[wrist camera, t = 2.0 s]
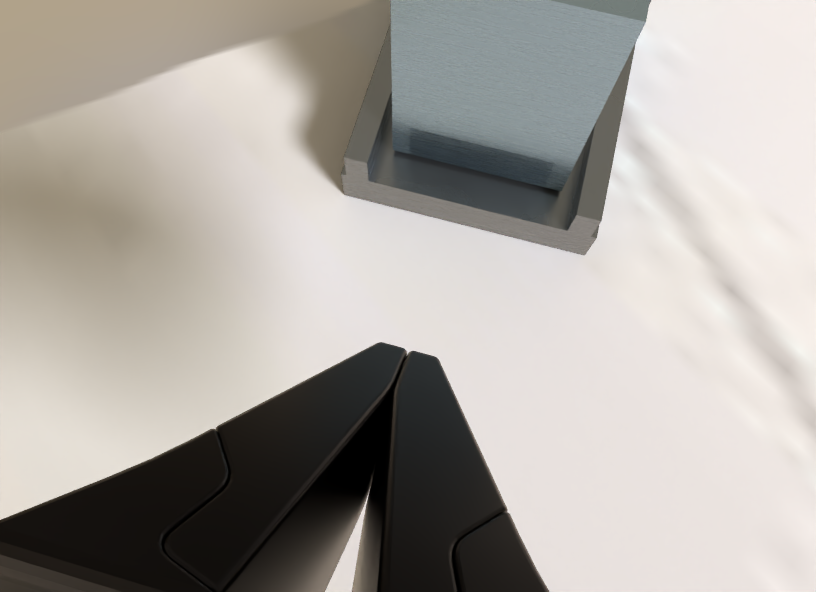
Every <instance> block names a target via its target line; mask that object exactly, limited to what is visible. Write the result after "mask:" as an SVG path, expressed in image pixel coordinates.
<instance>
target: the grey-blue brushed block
mask: <svg viewBox="0 0 816 592" xmlns="http://www.w3.org/2000/svg"><path fill="white" fill-rule="evenodd" d="M649 2H650V0H391V68H392V138H393V150H395V151H399V152H403V153H407V154H411V155H415V156H419V157H423V158H428V159H432V160H436V161H440V162H444V163H448V164H452V165H456V166H460V167H464V168H468V169H472V170H476V171H480V172H484V173H489V174H493V175H497V176H501V177H505V178H509V179H513V180H517V181H521V182H525V183H529V184H533V185H537V186H541V187H545V188H550V189H554V190H558V191H562V190H563V187H564V185H565V183H566V181H567V179H568V177H569V175H570V173H571V171H572V169H573V167H574V165H575V163H576V161H577V159H578V157H579V155H580V153H581V151H582V149H583V147H584V145H585V143H586V141H587V139H588V137H589V135H590V133H591V131H592V129H593V127H594V125H595V123H596V121H597V119H598V117H599V115H600V113H601V111H602V109H603V107H604V105H605V103H606V101H607V99H608V97H609V95H610V93H611V91H612V89H613V87H614V85H615V83H616V81H617V79H618V77H619V75H620V73H621V71H622V69H623V67H624V65H625V63H626V61H627V59H628V57H629V55H630V53H631V51H632V49H633V47H634V45H635V43H636V41H637V39H638V37H639V35H640V33H641V31H642V28H643V26H644V24H645V22H646V18H647V13H648V7H649Z"/></svg>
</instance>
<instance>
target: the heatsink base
mask: <svg viewBox="0 0 816 592" xmlns="http://www.w3.org/2000/svg"><path fill="white" fill-rule="evenodd" d="M650 2H651V0H650ZM650 2H649V4H650ZM634 49H635V45H634V47H633V49H632V51H631V53H630V55H629V57H628V59H627V61H626V63H625V65H624V67H623V69H622V71H621V73H620V75H619V77H618V79H617V81H616V83H615V85H614V87H613V89H612V91H611V93H610V95H609V97H608V99H607V101H606V103H605V105H604V107H603V109H602V111H601V113H600V115H599V117H598V119H597V121H596V123H595V125H594V127H593V129H592V131H591V133H590V135H589V137H588V139H587V141H586V143H585V145H584V147H583V149H582V151H581V153H580V155H579V157H578V159H577V161H576V163H575V165H574V167H573V169H572V171H571V173H570V175H569V177H568V179H567V181H566V183H565V185H564V187H563V190H562V191H558V190H554V189H550V188H545V187H541V186H537V185H533V184H529V183H525V182H521V181H517V180H513V179H509V178H505V177H501V176H497V175H493V174H489V173H484V172H480V171H476V170H472V169H468V168H464V167H460V166H456V165H452V164H448V163H444V162H440V161H436V160H432V159H428V158H423V157H419V156H415V155H411V154H407V153H403V152H399V151H395V150H393V138H392V68H391V24H390V26H389V29H388V32H387V35H386V38H385V41H384V44H383V46H382V49H381V52H380V55H379V58H378V61H377V64H376V67H375V69H374V72H373V75H372V78H371V81H370V84H369V87H368V89H367V92H366V95H365V98H364V101H363V104H362V107H361V109H360V112H359V115H358V118H357V121H356V124H355V127H354V129H353V132H352V135H351V138H350V141H349V144H348V147H347V149H346V152H345V155H344V162H345V164H344V167H343V170H342V173H341V177H342V184H343V190H344V195H348V196H352V197H355V198H359V199H363V200H367V201H371V202H375V203H379V204H383V205H387V206H391V207H395V208H399V209H403V210H407V211H411V212H415V213H419V214H423V215H427V216H431V217H435V218H439V219H443V220H447V221H450V222H454V223H458V224H462V225H466V226H470V227H474V228H478V229H482V230H486V231H490V232H494V233H498V234H502V235H506V236H510V237H514V238H518V239H522V240H526V241H530V242H534V243H538V244H542V245H545V246H549V247H553V248H557V249H561V250H565V251H569V252H573V253H577V254H581V255H585V254H586V253H587V251H588V250H589V248H590V247H591V245H592V244H593V243H594V241H595V240H596V238H597V233H598V228H599V224H600V222H601V220H602V215H603V210H604V204H605V199H606V194H607V189H608V184H609V178H610V173H611V168H612V163H613V158H614V152H615V147H616V142H617V137H618V132H619V126H620V121H621V116H622V111H623V106H624V100H625V95H626V90H627V85H628V80H629V74H630V69H631V64H632V59H633V54H634Z"/></svg>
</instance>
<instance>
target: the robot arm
mask: <svg viewBox="0 0 816 592" xmlns="http://www.w3.org/2000/svg"><path fill="white" fill-rule="evenodd" d="M370 487H371V488H370ZM369 490H370V492H369ZM368 493H369V496H368ZM367 496H368V501H367V505H366V510H365V515H364V520H363V527H362V533H361V539H360V545H359V551H358V557H357V563H356V570H355V576H354V582H353V588H352V592H549V590H548V588H547V587H546V585H545V583H544V581H543V580H542V578H541V576H540V575H539V573H538V571H537V569H536V567H535V565H534V563H533V561H532V559H531V557H530V555H529V553H528V551H527V549H526V547H525V545H524V543H523V541H522V539H521V537H520V535H519V533H518V531H517V529H516V527H515V524H514V522H513V520H512V518H511V516H510V514H509V513H507V507H506V505H505V503H504V501H503V499H502V497H501V494H500V492H499V490H498V488H497V486H496V483H495V481H494V479H493V477H492V475H491V473H490V470H489V468H488V466H487V464H486V462H485V459H484V457H483V455H482V453H481V451H480V449H479V446H478V444H477V442H476V440H475V438H474V435H473V433H472V431H471V429H470V427H469V425H468V422H467V420H466V418H465V416H464V414H463V412H462V409H461V407H460V405H459V403H458V401H457V398H456V396H455V394H454V392H453V390H452V388H451V385H450V383H449V381H448V379H447V377H446V374H445V372H444V370H443V368H442V366H441V364H440V361H439V359H438V358H437V357H434V356H431V355H427V354H423V353H420V352H416V351H411V352H409V353H408V355H407V351H406V350H405V349H404V348H401V347H397V346H394V345H390V344H386V343H382V342H380V343H377V344H375V345H373V346H371V347H369V348H367V349H365V350H363V351H361V352H359V353H357V354H355V355H353V356H351V357H350V358H348V359H346V360H344V361H342V362H340V363H338V364H336V365H334V366H332V367H330V368H328V369H326V370H324V371H323V372H321V373H319V374H317V375H315V376H313V377H311V378H309V379H307V380H305V381H303V382H301V383H299V384H298V385H296V386H294V387H292V388H290V389H288V390H286V391H284V392H282V393H280V394H278V395H276V396H274V397H272V398H271V399H269V400H267V401H265V402H263V403H261V404H259V405H257V406H255V407H253V408H251V409H249V410H247V411H246V412H244V413H242V414H240V415H238V416H236V417H234V418H232V419H230V420H228V421H226V422H224V423H222V424H220V425H219V426H217V427H216V430H215V429H210V430H208V431H206V432H205V433H203V434H201V435H199V436H197V437H195V438H193V439H191V440H189V441H187V442H185V443H183V444H181V445H179V446H177V447H175V448H173V449H170V450H168V451H166V452H164V453H162V454H160V455H158V456H156V457H154V458H152V459H149V460H147V461H145V462H142V463H140V464H138V465H135V466H133V467H131V468H128V469H126V470H124V471H121V472H119V473H116V474H114V475H112V476H109V477H107V478H105V479H102V480H100V481H97V482H94V483H92V484H89V485H87V486H84V487H82V488H79V489H77V490H74V491H72V492H69V493H67V494H64V495H62V496H59V497H57V498H54V499H52V500H49V501H47V502H44V503H42V504H39V505H37V506H34V507H32V508H29V509H27V510H24V511H22V512H19V513H17V514H14V515H12V516H9V517H7V518H4V519H2V520H0V592H325V590H326V588H327V586H328V584H329V581H330V579H331V577H332V575H333V573H334V571H335V568H336V566H337V564H338V562H339V560H340V558H341V555H342V553H343V551H344V549H345V547H346V545H347V542H348V540H349V538H350V536H351V534H352V532H353V529H354V527H355V525H356V523H357V521H358V518H359V516H360V514H361V511H362V509H363V507H364V504H365V502H366V499H367Z"/></svg>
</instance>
